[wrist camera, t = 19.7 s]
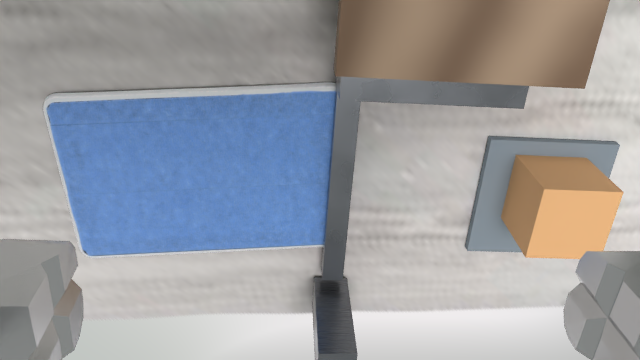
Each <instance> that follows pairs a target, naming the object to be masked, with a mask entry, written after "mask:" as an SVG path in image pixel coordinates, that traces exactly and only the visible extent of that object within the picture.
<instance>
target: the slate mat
mask: <svg viewBox="0 0 640 360" xmlns="http://www.w3.org/2000/svg"><path fill="white" fill-rule="evenodd" d="M619 146H620V145H619V144H618V143H617V142H614V141H591V140H567V139H544V138H521V137H498V136H489V137H488V142H487V146H486V151H485V156H484V160H483V165H482V170H481V174H480V179H479V184H478V189H477V193H476V198H475V203H474V207H473V212H472V217H471V221H470V226H469V231H468V235H467V240H466V245H465V247H466V249H467V251H495V252H522V251H521V249H520V248H519V246H518V244H517V243H516V241H515V240H514V238H513V236H512V235H511V233H510V231H509V230H508V228H507V227H506V225H505V223H504V222H503V220H502V219H501V214H502V210H503V206H504V202H505V198H506V194H507V190H508V185H509V181H510V177H511V173H512V169H513V165H514V161H515V156H516V155H534V156H558V157H582V158H587V159H588V160H589V161H591V162H592V163H593V164H594V165H595V166H596V167H597V168H598V169H599V170H600V171H601V172H602V173H603V174H604V175H605V176H607V177H608V178H609V177H610V174H611V171H612V167H613V164H614V161H615V158H616V155H617V152H618V149H619Z"/></svg>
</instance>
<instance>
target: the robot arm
mask: <svg viewBox="0 0 640 360" xmlns="http://www.w3.org/2000/svg"><path fill="white" fill-rule="evenodd" d="M77 266H78V262H77V257H76V251H75V247H74V246H73V244H72V243H71V242H70V241H48V240H21V239H1V240H0V360H62V358H64V357H65V356H66V355H68V354H69V353H71V352H72V351H74V349H75V346H76V344H77V341H78V339H79V336H80V332H81V326H82V321H83V296H82V289H81V288H80V287H79V286H78V285H77V284H76V283H75V282H74V281H73V280H72V277H73V274H74V272H75V270H76V268H77ZM576 274H577V276H578V278H579V280H580V282H581V283H580V284H579V285H578V286H576V287H575V288H574V289H573V290H572V291H571V292H570V293H568V296H567V300H566V303H565V307H564V326H565V329H566V332H567V335H568V338H569V340H570V341H571V343H572V345H573V346H574V348H575V349H576V350H577V351H578V352H580V353H581V354H583V355H584V356H586V357H587V358H589V359H591V360H640V251H586V253H585V254H584V255H583V256H582V257H581V259H580V261H579V263H578V266H577V269H576Z"/></svg>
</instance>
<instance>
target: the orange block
mask: <svg viewBox="0 0 640 360" xmlns="http://www.w3.org/2000/svg"><path fill="white" fill-rule="evenodd" d="M622 195H623V191H622V190H620V189H619V188H618V187H617V186H616V185H615V184H614V183H613V182H612V181H611V180H610V179H609V178H608V177H607V176H605V175H604V174H603V173H602V172H601V171H600V170H599V169H598V168H597V167H596V166H595V165H594V164H593V163H592V162H591V161H589V160H588V159H587V158H582V157H558V156H534V155H516V156H515V161H514V165H513V169H512V173H511V177H510V181H509V185H508V190H507V194H506V198H505V202H504V206H503V210H502V214H501V219H502V220H503V222H504V223H505V225H506V227H507V228H508V230H509V231H510V233H511V235H512V236H513V238H514V240H515V241H516V243H517V244H518V246H519V248H520V249H521V251H522V252H523V254H524V256H525V257H530V258H565V259H581V257H582V256H583V255H584V254H585V253H586V251H603V250H604V247H605V244H606V241H607V238H608V235H609V232H610V230H611V227H612V224H613V221H614V218H615V215H616V212H617V209H618V206H619V204H620V201H621V198H622Z"/></svg>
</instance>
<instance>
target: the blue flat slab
mask: <svg viewBox="0 0 640 360" xmlns="http://www.w3.org/2000/svg"><path fill="white" fill-rule="evenodd" d="M335 97H336V83H333V82H322V83H303V84H285V85H264V86H239V87H213V88H186V89H159V90H136V91H109V92H80V93H54V94H51V95H49V96H47V97H46V99H45V101H44V104H43V113H44V116H45V120H46V124H47V128H48V131H49V135H50V139H51V142H52V146H53V150H54V154H55V158H56V162H57V166H58V170H59V173H60V177H61V181H62V184H63V188H64V192H65V196H66V200H67V203H68V207H69V211H70V215H71V219H72V223H73V227H74V231H75V235H76V239H77V242H78V246H79V250H80V251H81V252H82V254H83V255H85V256H87V257H90V258H110V257H130V256H149V255H170V254H191V253H211V252H232V251H250V250H272V249H292V248H315V247H323V246H324V234H325V221H326V209H327V196H328V184H329V171H330V159H331V147H332V134H333V122H334V109H335Z"/></svg>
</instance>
